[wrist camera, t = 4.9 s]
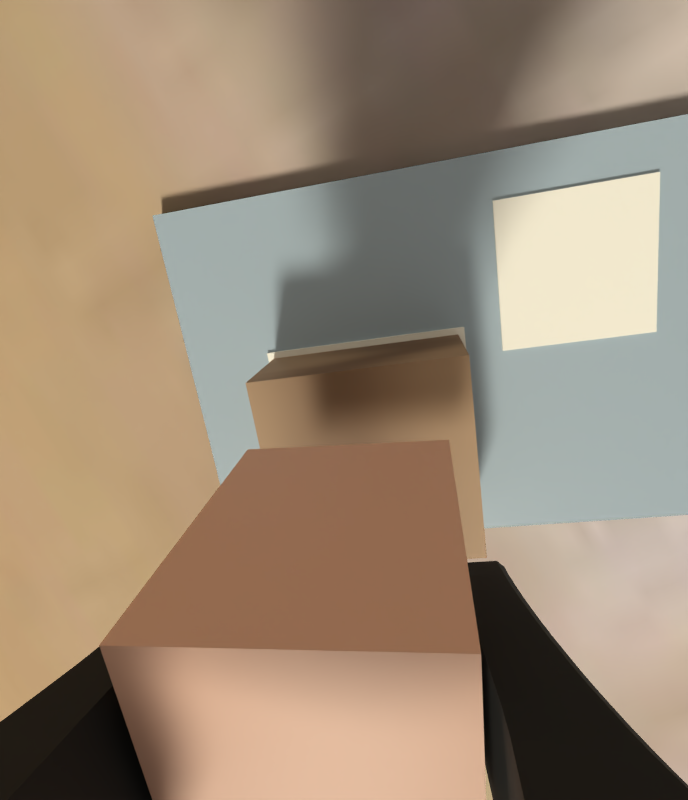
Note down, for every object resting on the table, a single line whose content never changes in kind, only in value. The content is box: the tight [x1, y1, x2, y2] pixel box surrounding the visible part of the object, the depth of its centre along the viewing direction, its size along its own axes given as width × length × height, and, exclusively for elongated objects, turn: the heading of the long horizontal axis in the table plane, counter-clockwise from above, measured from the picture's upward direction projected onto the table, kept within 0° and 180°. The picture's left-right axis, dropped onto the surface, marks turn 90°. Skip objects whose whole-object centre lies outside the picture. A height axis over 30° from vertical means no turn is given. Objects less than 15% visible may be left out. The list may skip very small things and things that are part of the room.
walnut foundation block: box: [246, 334, 487, 559], centre depth 15 cm, size 6×6×3 cm
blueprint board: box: [153, 114, 688, 528], centre depth 16 cm, size 16×12×1 cm
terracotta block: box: [99, 440, 486, 800], centre depth 8 cm, size 4×4×5 cm
